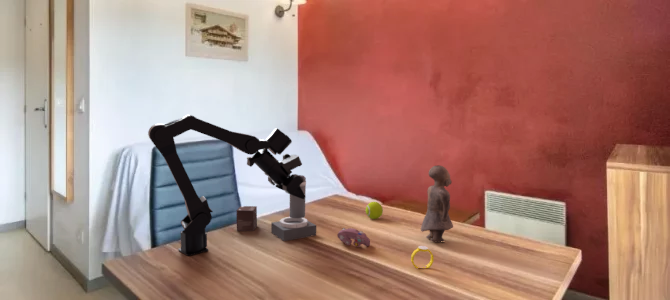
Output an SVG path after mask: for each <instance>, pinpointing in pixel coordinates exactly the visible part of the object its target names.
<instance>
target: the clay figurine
mask: <svg viewBox="0 0 670 300" xmlns="http://www.w3.org/2000/svg"><path fill="white" fill-rule="evenodd" d="M428 176H429V177H430V178H431V179H432V180H433V182H434V183H433V185H430V186H428V188H427V204H426V205H427V210H426V213H425V216H424V218H423V221H422V223H421V226H420V232H422V233H423V232H426V231H429V234H428V235H427V236H426V237H425V238H426V239H429V240H430V242H431V243H442V242H441V241H445V239H444V238H443V235H444V233H445V231H449V230H451V229H452V228H454V224H453V222H452V220H451V217H450V214H449V210H450V209H451V203H450V202H451V201H450V200H451V193H450V192H449V191H448V190H447V189H446V188H445V187H447V188H448V187H449V186H450V185H452V180H451V174H450V173H449V170H448V169H447V168H446V167H445V166H443V165H433V166H432V167H431V168H430V169H429V171H428Z"/></svg>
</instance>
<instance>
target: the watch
mask: <svg viewBox="0 0 670 300" xmlns="http://www.w3.org/2000/svg"><path fill="white" fill-rule="evenodd" d="M419 252H422V253H423V252H428V253H429V255H430V261H429V262H428V263H427V264H426V265H425V266H427V267H426V268H428V269H430V268H431V267H432V266H433V263H434V261H435V260H434V259H435V258H434V255H433V252H432V251H431V250H430V249H429V247H427V246H425V245H418V246H417V248H416V249H414V250H413V252H412V253H411V256H410V261H411V263H412V265H413V267H414V268H415V269H417V268H418V267H417V266H418V265H416V264H415V262H414V259H415V256H416V255H417V254H418V253H419ZM423 268H424V267H423Z"/></svg>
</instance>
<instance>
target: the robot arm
mask: <svg viewBox="0 0 670 300" xmlns="http://www.w3.org/2000/svg"><path fill="white" fill-rule="evenodd" d="M191 130H192V131H195V132H197V133H200V134H203V135H206V136H208V137H211V138H214V139H216V140H218V141H219V140H220V141H221V142H225V143H227V144H228V145H230V146H231V147H234V148H235V149H237V150H238V151H241V152H242V153H244V154H247V155H250V156H247V157H246V160H247V161H246V165H247V166H249V167H250V168H251V167H253V166H254V165H256V166H257V167H258V168H259V169H260V170H261V171H262V172H263V174H264V176H267V181H268V182H269V183H270V184H271V185H272V186H275V188H278V189H279V190H282V191H284V192H285V193H286V194H289V196H290V195H293V196H296V197H299V198H301V199H305V200H306V198H307V197H306V194H305V195H304V193H303V191H302V189H301V187H300V185H301V183H302V182H303V181H304V179H303V178H302V177H301V176H299V175H300V174H297V173H293V171H292V170H294V169H297V168H298V167H301V166H302V165H303V163H302V160H301V158H300V156H299V155H297V154H291V155H290V154H289V153H284V151H285V150H286V149H287V148H288V147H289V146H290V145H291V144H292V139H291V138H290V136H289V135H287V134H285V133H284V132H283V131H282V130H280V129H279V128H276V127H275V128H274V129H273V130H272V132H271V133H270V134H269V135H268V136H267V137H266V139H262V138H258V137H256V136H255V135H251V134H247V133H241V132H236V131H231V130H228V129H227V128H226V129H225V128H223V127H220V126H218V125H215V124H213V123H210V122H207V121H204V120H202V119H199V118H197V117H196V116H194V115H192V114H186V115H184V116H183V117H180V118H178V119H175V120H171V121H169V122H167V123H155V124H153V125H151V126H150V127H149V129H148V131H147V133H148V134H147V135H148V139H150V141H151V143H152V144H153V145H154V147H156V149H157V150H158V151H159V153H160V154H161V156H162V157H163V159H164V161H165V163H166V164H167V166H168V169H169V171H170V173H171V175H172V177H173V179H174V180H175V181H174V182H175V183H176V185H177V187H178V190H179V191H180V194H182V197H183V200H184V205H185V209H186V213H187V214H186V216H184V217H183V219H182V220H181V221H180V223H181V226H182V228H183V230H181V231H180V248H178V251H179V252H180V253H182V254H184V255H186V256H188V257H189V256H193V255H198V254H202V253H206V252H208V251H209V248H207V247H208V234H207V233H206V228H207V226H208V225H209V224H210V223H211V221H212V219H213V217H212V213H213V210H212V208H211V207H210V206H209V202H208V200H207V198H206V197H205V196H204V195H202V196H201V197H199V195H198V194H197V192H196V190H195V187H194V185H193V184H192V181H191V179H190V177H189V175H188V173H187V171H186V169H185V167H184V165H183V162H182V161H181V158H180V156H179V154H178V150H177V147H176V142H175V139H174V138H176V137H178V136H180V135H182V134H184V133H186V132H188V131H191ZM282 153H284V154H283V155H282V159H281V160H280V161H279V160H278V159H277V158H276V157H275V156H276V155H281V154H282ZM274 155H275V156H274ZM292 173H293V174H292Z"/></svg>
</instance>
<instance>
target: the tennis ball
mask: <svg viewBox="0 0 670 300" xmlns="http://www.w3.org/2000/svg"><path fill="white" fill-rule="evenodd" d="M383 212H384V209H383V205H381V203H380V202H378V201H371V202H369V203H368V204H367V205H366V206H365V214H366V215H367V217H368V218H370V219H372V220H377V219H380V218H381V216H382V215H383Z"/></svg>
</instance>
